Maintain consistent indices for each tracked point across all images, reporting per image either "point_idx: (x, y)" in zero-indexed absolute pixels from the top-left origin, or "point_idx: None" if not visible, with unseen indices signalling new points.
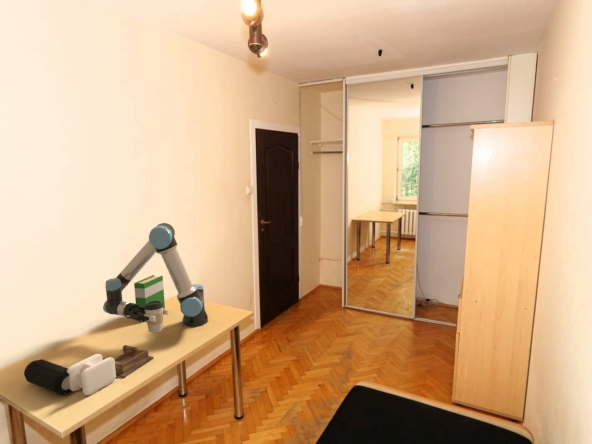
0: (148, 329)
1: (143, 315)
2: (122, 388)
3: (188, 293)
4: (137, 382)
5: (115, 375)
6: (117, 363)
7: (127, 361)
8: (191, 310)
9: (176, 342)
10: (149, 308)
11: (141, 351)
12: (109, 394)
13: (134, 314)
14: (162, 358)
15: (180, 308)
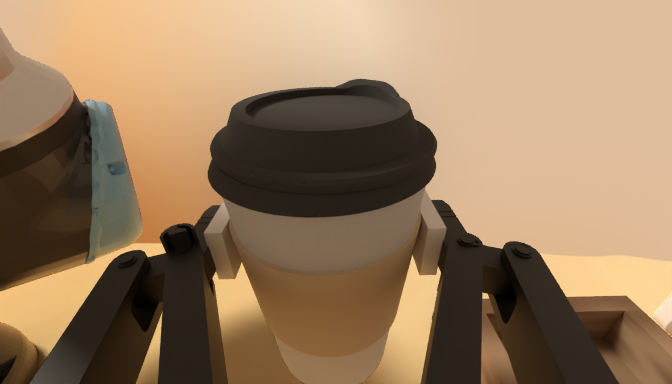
0: (383, 349)
1: (457, 232)
2: (611, 271)
3: (52, 70)
4: (551, 257)
5: (658, 308)
6: (665, 335)
7: (597, 304)
8: (133, 187)
9: (258, 332)
10: (417, 123)
11: (491, 330)
12: (667, 281)
13: (569, 369)
14: (405, 288)
15: (124, 201)
